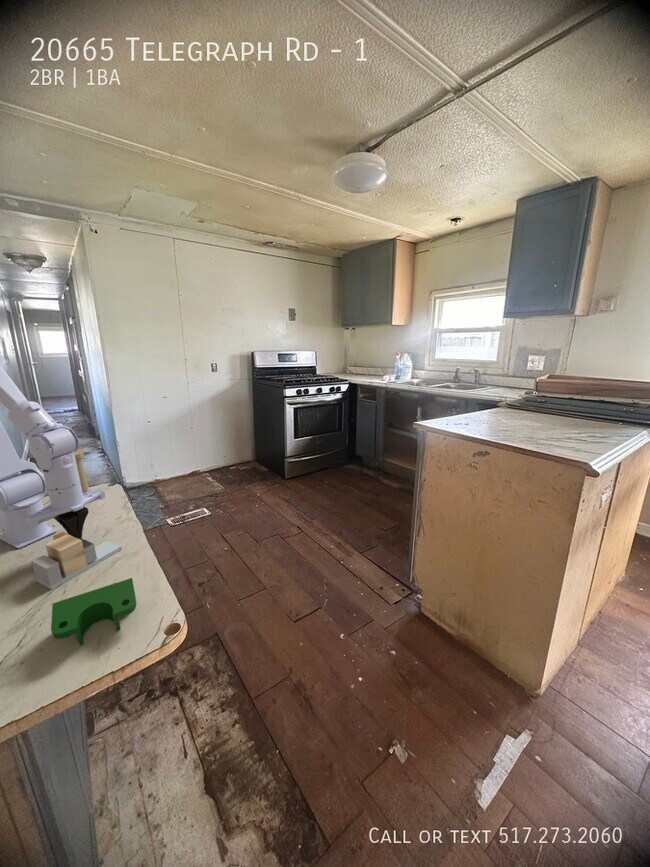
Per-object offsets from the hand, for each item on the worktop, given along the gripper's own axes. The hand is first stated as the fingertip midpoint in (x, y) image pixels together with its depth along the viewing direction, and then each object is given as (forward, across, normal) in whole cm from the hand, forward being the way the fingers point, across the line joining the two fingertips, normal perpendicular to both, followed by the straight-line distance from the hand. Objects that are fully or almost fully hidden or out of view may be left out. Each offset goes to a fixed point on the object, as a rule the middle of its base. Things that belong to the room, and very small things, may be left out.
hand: (76, 539), depth 76 cm
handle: (+3, +14, +22) cm, 26 cm away
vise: (+2, -3, -6) cm, 7 cm away
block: (+2, -5, -6) cm, 8 cm away
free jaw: (+2, -2, -3) cm, 4 cm away
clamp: (+3, -11, -26) cm, 28 cm away
